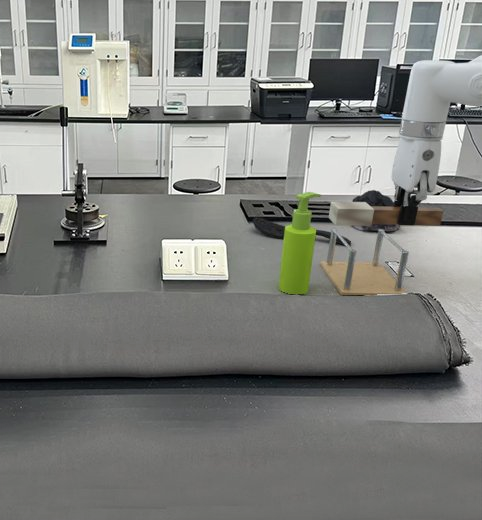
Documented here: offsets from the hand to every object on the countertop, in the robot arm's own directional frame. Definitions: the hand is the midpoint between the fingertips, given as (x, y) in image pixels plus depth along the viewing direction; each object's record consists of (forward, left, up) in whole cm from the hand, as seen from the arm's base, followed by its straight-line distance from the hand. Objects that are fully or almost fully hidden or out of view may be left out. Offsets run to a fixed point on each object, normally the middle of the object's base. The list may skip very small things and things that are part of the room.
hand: (402, 221), depth 108 cm
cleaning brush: (+3, 0, 0) cm, 3 cm away
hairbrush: (+13, -26, -13) cm, 32 cm away
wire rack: (+6, 0, -13) cm, 15 cm away
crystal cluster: (-9, -36, -13) cm, 39 cm away
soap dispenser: (+21, +5, -13) cm, 26 cm away
